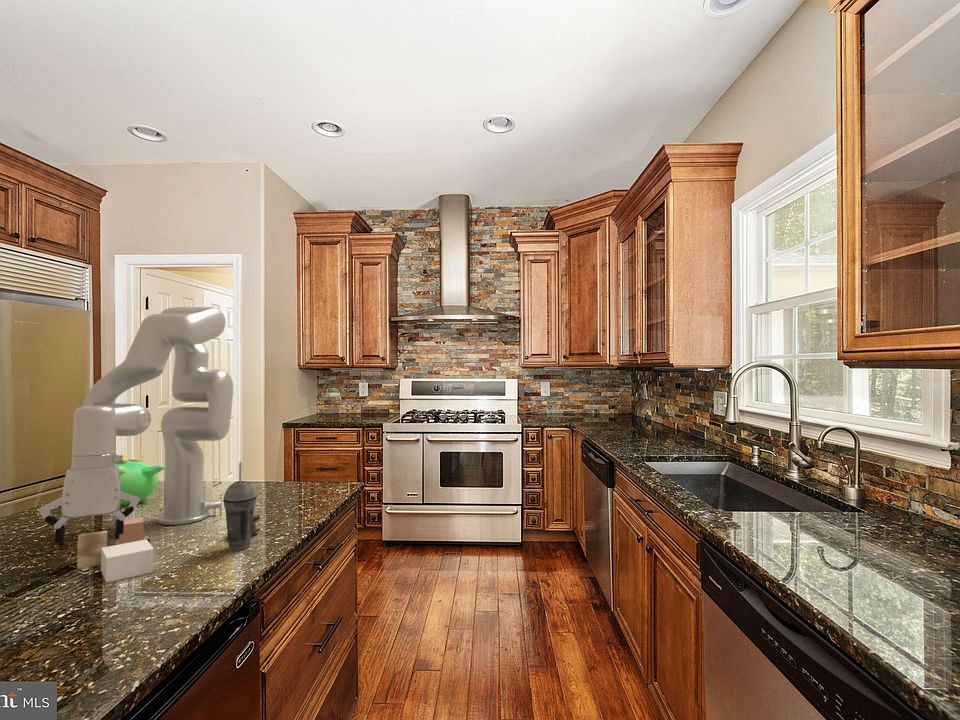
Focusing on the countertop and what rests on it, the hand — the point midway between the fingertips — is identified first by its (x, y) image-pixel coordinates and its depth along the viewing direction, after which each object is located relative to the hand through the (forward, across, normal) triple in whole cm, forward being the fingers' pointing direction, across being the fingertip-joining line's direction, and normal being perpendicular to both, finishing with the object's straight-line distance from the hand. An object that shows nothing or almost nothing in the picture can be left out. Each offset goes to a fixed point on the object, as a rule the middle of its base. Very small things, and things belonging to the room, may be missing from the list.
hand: (90, 541), depth 110 cm
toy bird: (+4, -8, -55) cm, 55 cm away
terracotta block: (+4, -8, -9) cm, 12 cm away
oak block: (+5, 0, -1) cm, 5 cm away
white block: (+5, -6, +9) cm, 12 cm away
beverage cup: (+5, -28, +7) cm, 30 cm away
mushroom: (+4, -32, -2) cm, 32 cm away
